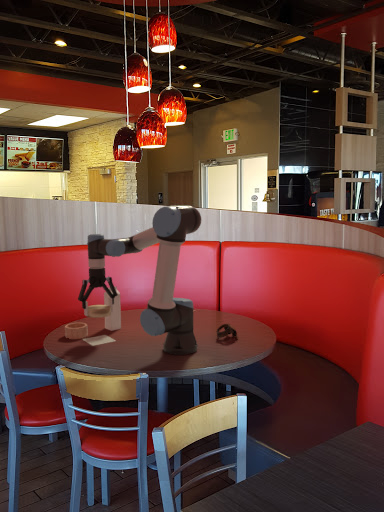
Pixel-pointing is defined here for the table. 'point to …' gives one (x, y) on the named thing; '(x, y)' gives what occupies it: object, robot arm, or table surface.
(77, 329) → the terracotta bowl
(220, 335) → the pottery mug
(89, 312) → the brass lid
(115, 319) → the milk
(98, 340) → the silicone mat
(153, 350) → the table surface
